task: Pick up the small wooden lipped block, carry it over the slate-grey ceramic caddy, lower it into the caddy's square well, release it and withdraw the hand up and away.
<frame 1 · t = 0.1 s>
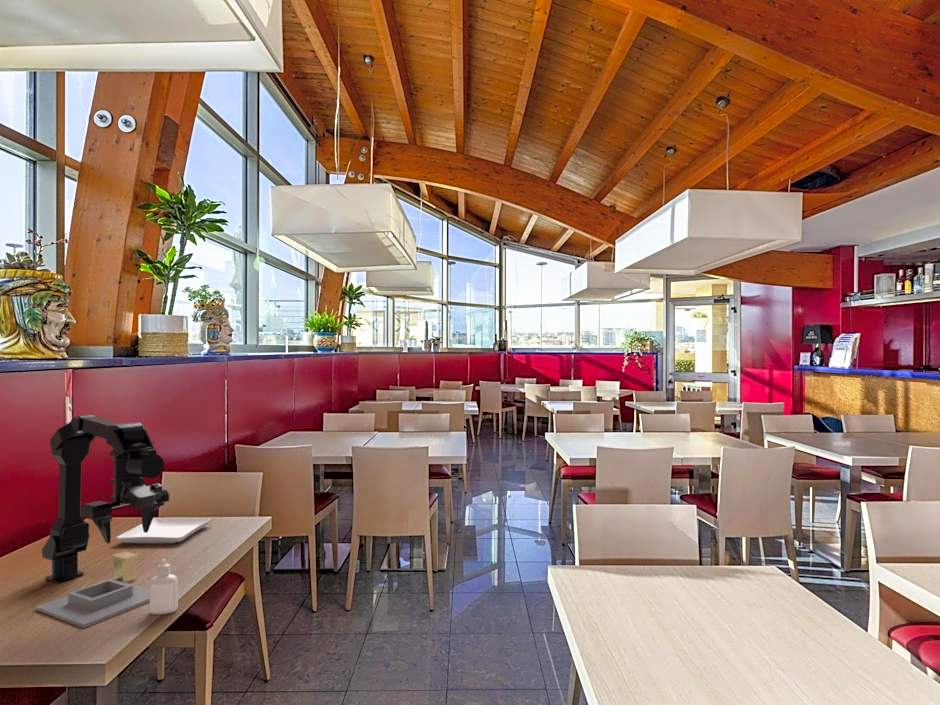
hand: (127, 537, 137), 15 cm above the table, fingers open, 9 cm apart
eye dropper bottle: (163, 612, 128), on the table
wooden lipped block: (124, 580, 147), on the table
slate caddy: (100, 603, 133), on the table
salad plate: (166, 537, 184), on the table
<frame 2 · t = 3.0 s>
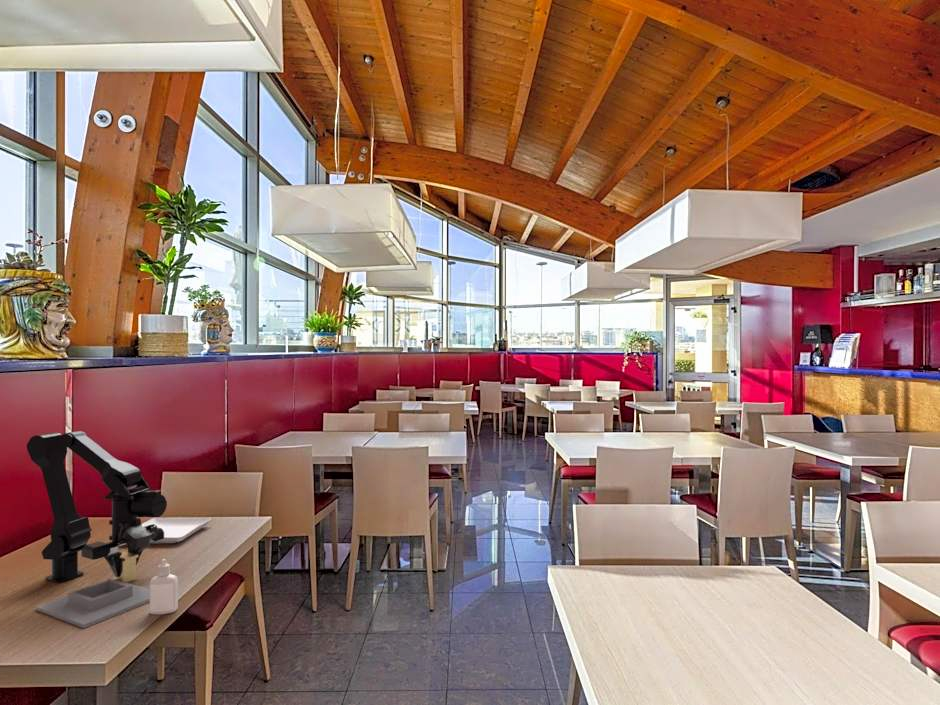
hand: (124, 574, 147), 2 cm above the table, fingers closed on wooden lipped block, 3 cm apart
wooden lipped block: (124, 580, 147), on the table, touching gripper
everything else where it was.
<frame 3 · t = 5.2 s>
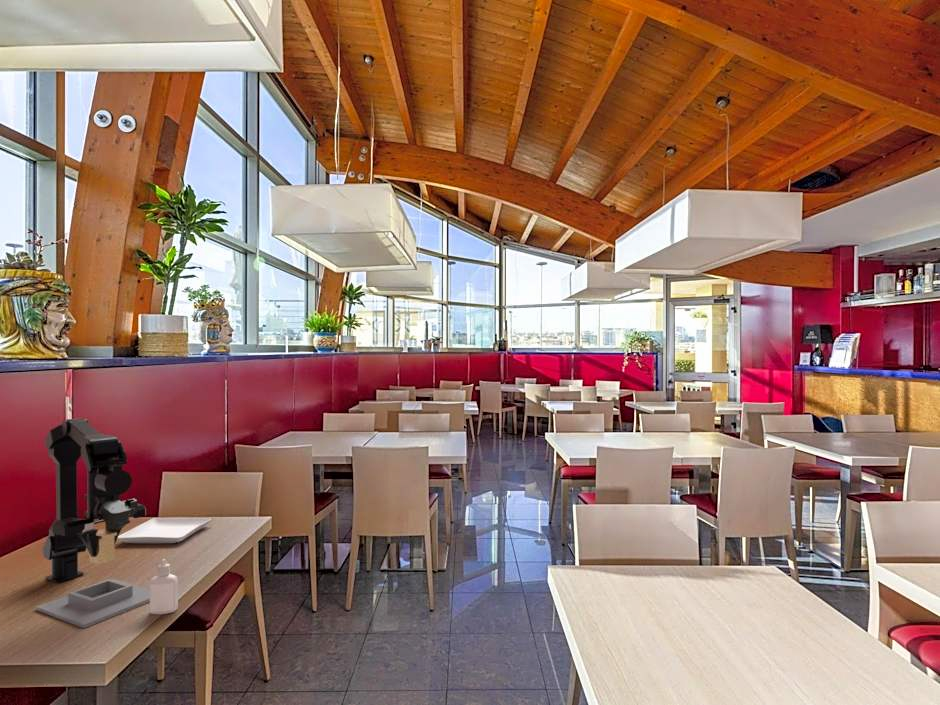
hand: (101, 554, 133), 12 cm above the table, fingers closed on wooden lipped block, 3 cm apart
wooden lipped block: (102, 560, 133), point 10 cm above the table, touching gripper
everything else where it was.
when the fingers open (4 cm above the table, at t = 7.6 s): wooden lipped block drops 2 cm, resting on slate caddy.
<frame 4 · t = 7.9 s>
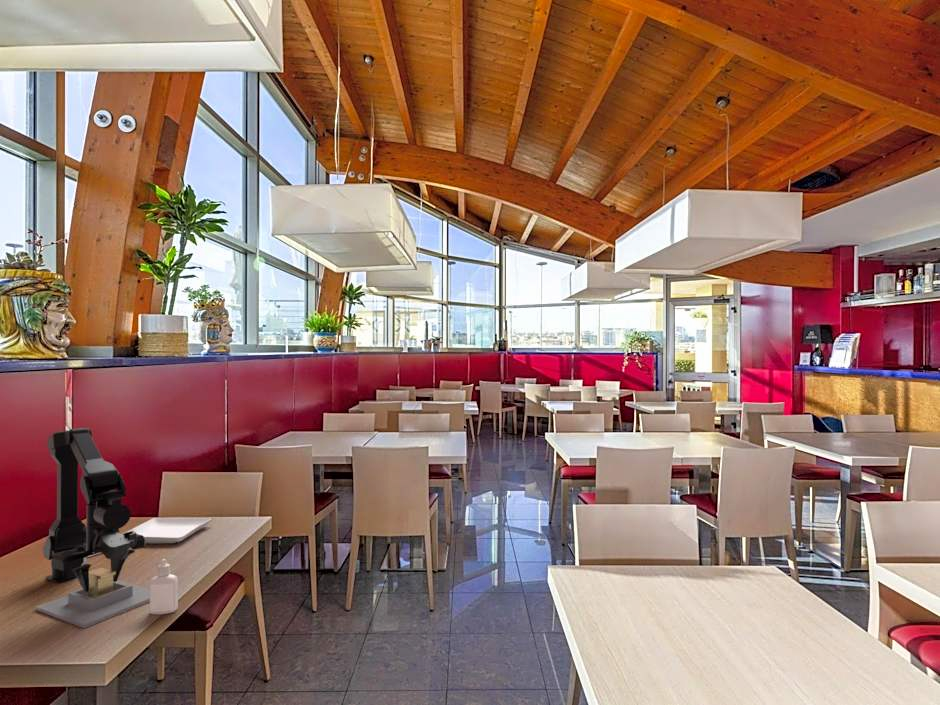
hand: (100, 586, 133), 4 cm above the table, fingers open, 6 cm apart
wooden lipped block: (100, 599, 133), point 1 cm above the table, touching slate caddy
everything else where it was.
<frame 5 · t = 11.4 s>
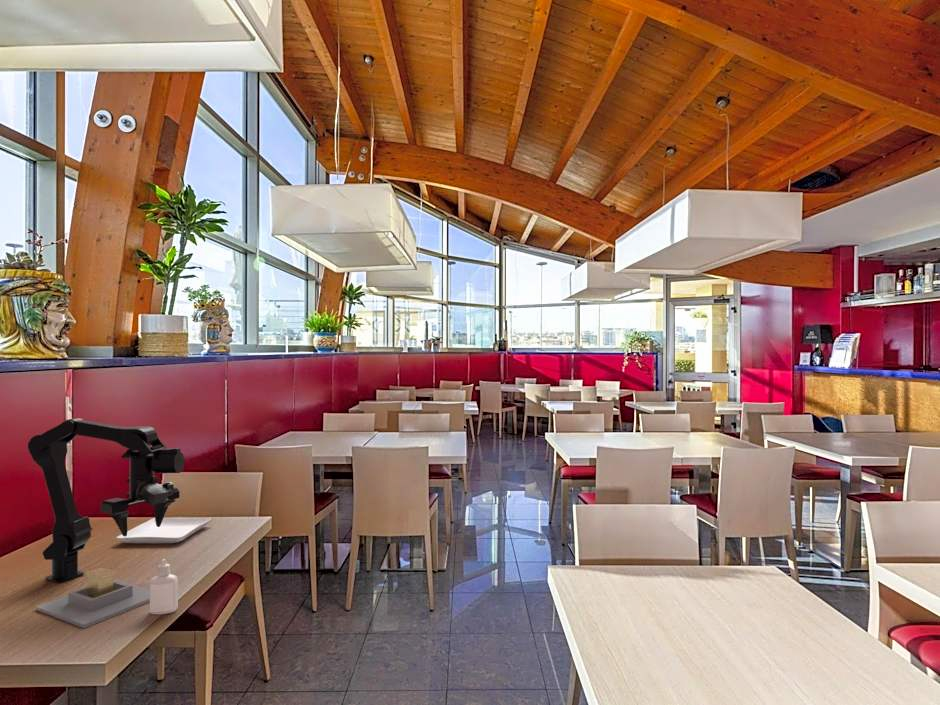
hand: (142, 531, 150), 12 cm above the table, fingers open, 9 cm apart
nothing on the table moved.
at the end: wooden lipped block 0.0 cm off-centre on the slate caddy, point 0.8 cm above the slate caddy's base; wooden lipped block tilted 0°; the gripper is holding nothing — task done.
